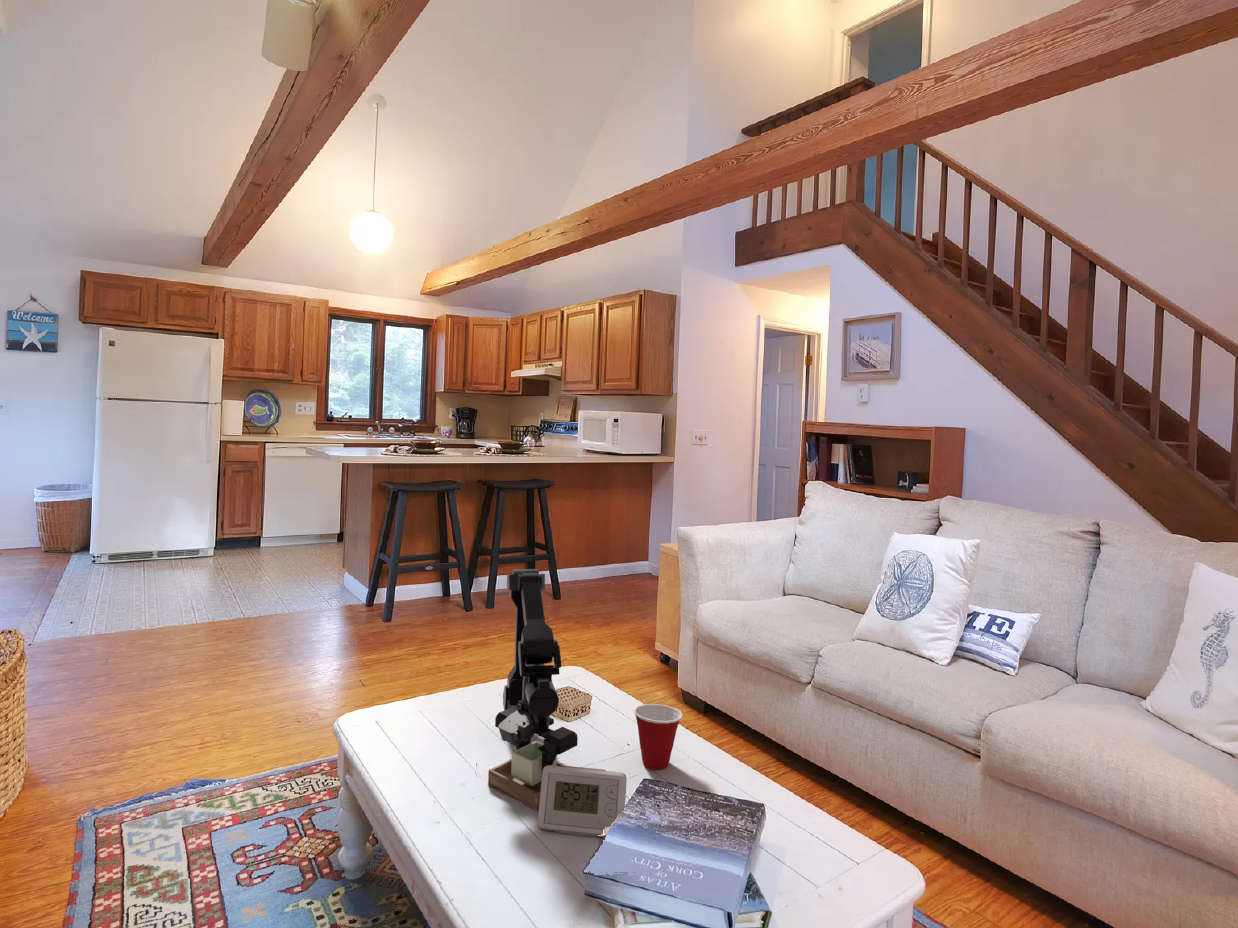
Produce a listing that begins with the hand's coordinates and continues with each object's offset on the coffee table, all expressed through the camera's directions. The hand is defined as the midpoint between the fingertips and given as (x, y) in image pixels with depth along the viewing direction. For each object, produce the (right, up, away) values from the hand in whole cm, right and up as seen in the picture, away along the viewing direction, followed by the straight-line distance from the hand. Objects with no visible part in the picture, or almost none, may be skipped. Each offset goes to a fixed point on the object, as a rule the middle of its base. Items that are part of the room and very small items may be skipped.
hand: (534, 769), depth 143 cm
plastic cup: (+26, -4, +12) cm, 28 cm away
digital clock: (+10, -5, -14) cm, 18 cm away
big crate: (0, -4, 0) cm, 4 cm away
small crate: (0, -1, 0) cm, 1 cm away
